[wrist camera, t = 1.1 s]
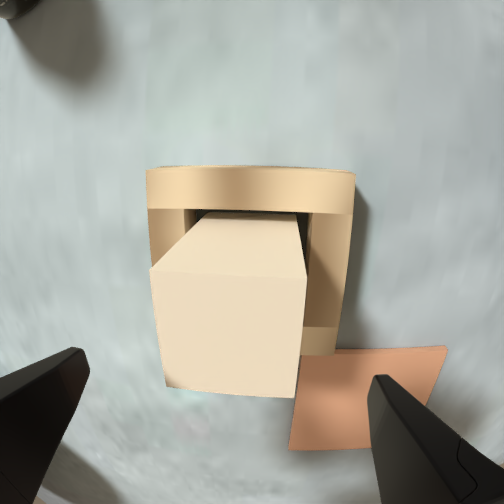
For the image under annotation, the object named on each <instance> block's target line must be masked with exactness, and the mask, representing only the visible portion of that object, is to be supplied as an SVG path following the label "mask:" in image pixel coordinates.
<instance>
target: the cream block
mask: <svg viewBox="0 0 504 504" xmlns="http://www.w3.org/2000/svg"><path fill="white" fill-rule="evenodd" d="M149 273H150V282H151V291H152V299H153V307H154V314H155V321H156V328H157V335H158V341H159V347H160V353H161V359H162V365H163V371H164V376H165V381H166V386H167V387H173V388H180V389H188V390H195V391H204V392H213V393H222V394H233V395H246V396H261V397H281V398H294V396H295V388H296V380H297V372H298V364H299V355H300V346H301V337H302V328H303V318H304V308H305V297H306V286H307V275H306V269H305V263H304V257H303V252H302V246H301V240H300V235H299V230H298V224H297V219H296V215H289V214H263V213H229V212H208V213H207V214H206V215H205V216H204V217H203V218H202V219H200V220H199V221H198V222H197V223H196V224H195V225H194V226H193V227H192V228H191V229H190V230H189V231H188V232H187V233H186V234H185V235H184V236H183V237H182V238H181V239H180V240H179V241H178V242H177V243H176V244H175V245H174V246H173V247H172V248H171V249H170V250H169V251H168V252H167V253H166V254H165V255H164V256H163V257H162V258H161V259H160V260H159V261H158V262H157V263H156V264H155V265H154V266H153V267H152V268H151V269H150V270H149Z"/></svg>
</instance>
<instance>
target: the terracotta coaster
mask: <svg viewBox="0 0 504 504" xmlns="http://www.w3.org/2000/svg"><path fill="white" fill-rule="evenodd" d="M447 351H448V349H447V348H446V346H431V347H413V348H388V349H335V352H334V356H314V355H301V359H300V368H299V376H298V383H297V391H296V398H295V405H294V412H293V419H292V426H291V432H290V439H289V445H288V450H344V449H360V448H371V442H370V430H369V418H368V407H367V395H368V392H369V389H370V385H371V382H372V379H373V377H374V375H376V374H388V375H389V376H390V377H392V378H393V379H394V380H395V381H396V382H397V383H399V384H400V385H401V386H402V387H403V388H404V389H406V390H407V391H408V392H409V393H410V394H411V395H413V396H414V397H415V398H416V399H417V400H419V401H420V402H421V403H422V404H423V405H424V406H425V405H426V403H427V401H428V398H429V396H430V394H431V392H432V389H433V387H434V385H435V382H436V380H437V377H438V375H439V372H440V370H441V367H442V365H443V362H444V360H445V357H446V354H447Z"/></svg>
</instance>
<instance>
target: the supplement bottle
mask: <svg viewBox="0 0 504 504" xmlns="http://www.w3.org/2000/svg"><path fill="white" fill-rule="evenodd" d="M39 1H40V0H0V18H4V19H13V18H17V17H19V16H21V15H23V14H25V13H26V12H28V11H29V10H30V9H32V8H33V7H34V6H35V5H36V4H37V3H38V2H39Z"/></svg>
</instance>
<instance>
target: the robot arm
mask: <svg viewBox="0 0 504 504" xmlns="http://www.w3.org/2000/svg"><path fill="white" fill-rule="evenodd" d="M89 374H90V368H89V364H88V361H87V358H86V355H85V352H84V350H83V349H81V348H76V347H70V348H68V349H66V350H63V351H61V352H59V353H57V354H54V355H52V356H50V357H47V358H45V359H43V360H40V361H38V362H36V363H34V364H31V365H29V366H27V367H24V368H22V369H20V370H17V371H15V372H13V373H10V374H8V375H6V376H3V377H1V378H0V504H33V502H34V499H35V497H36V495H37V492H38V490H39V488H40V485H41V483H42V481H43V478H44V476H45V474H46V472H47V469H48V467H49V465H50V463H51V461H52V458H53V456H54V454H55V452H56V450H57V448H58V446H59V443H60V441H61V439H62V437H63V435H64V433H65V431H66V429H67V427H68V425H69V423H70V421H71V419H72V417H73V415H74V413H75V411H76V408H77V406H78V403H79V401H80V398H81V395H82V393H83V390H84V388H85V385H86V382H87V380H88V377H89ZM367 407H368V418H369V430H370V442H371V449H372V454H373V459H374V464H375V469H376V475H377V480H378V486H379V491H380V497H381V503H382V504H504V469H503V468H502V467H500V466H499V465H497V464H496V463H494V462H493V461H491V460H490V459H489V458H487V457H486V456H484V455H483V454H482V453H480V452H479V451H478V450H477V449H475V448H474V447H473V446H472V445H470V444H469V443H468V442H467V441H466V440H464V439H463V438H461V436H460V435H458V434H457V433H456V432H455V431H454V430H453V429H451V428H450V427H449V426H448V425H447V424H445V423H444V422H443V421H442V420H441V419H440V418H438V417H437V416H436V415H435V414H434V413H433V412H431V411H430V410H429V409H428V408H427V407H426V406H424V405H423V404H422V403H421V402H420V401H419V400H417V399H416V398H415V397H414V396H413V395H411V394H410V393H409V392H408V391H407V390H406V389H404V388H403V387H402V386H401V385H400V384H399V383H397V382H396V381H395V380H394V379H393V378H392V377H390V376H389V375H388V374H376V375H374V377H373V379H372V382H371V385H370V389H369V392H368V395H367Z"/></svg>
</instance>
